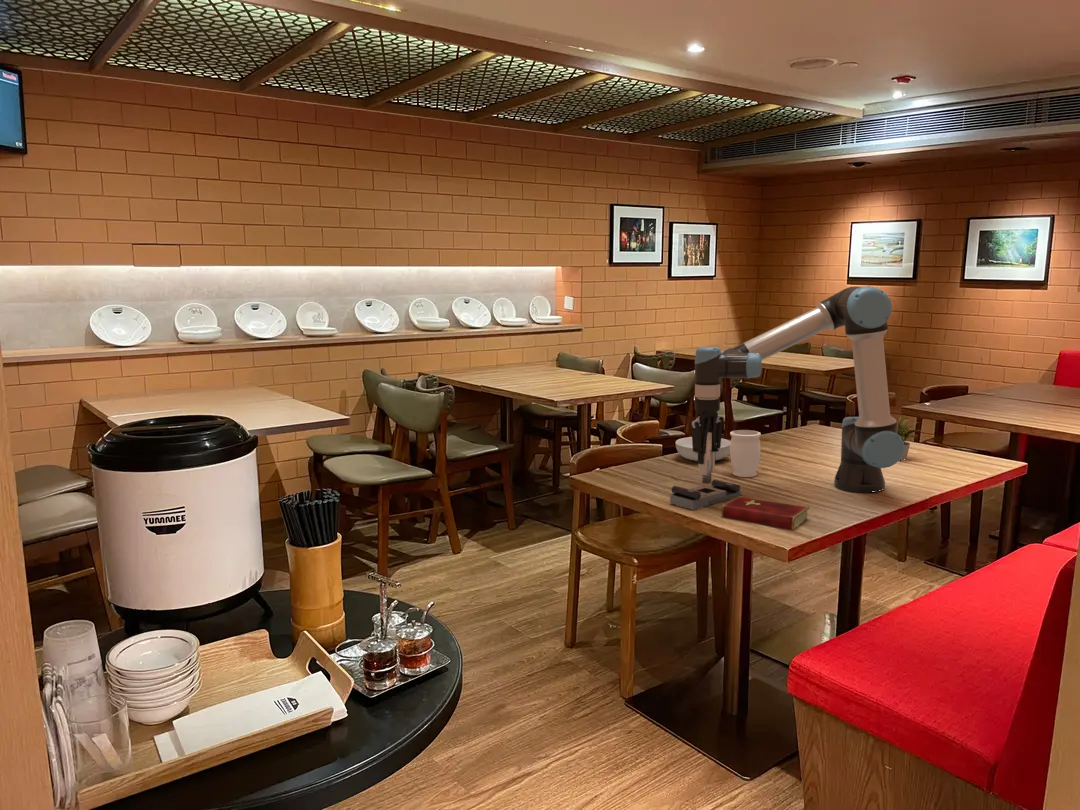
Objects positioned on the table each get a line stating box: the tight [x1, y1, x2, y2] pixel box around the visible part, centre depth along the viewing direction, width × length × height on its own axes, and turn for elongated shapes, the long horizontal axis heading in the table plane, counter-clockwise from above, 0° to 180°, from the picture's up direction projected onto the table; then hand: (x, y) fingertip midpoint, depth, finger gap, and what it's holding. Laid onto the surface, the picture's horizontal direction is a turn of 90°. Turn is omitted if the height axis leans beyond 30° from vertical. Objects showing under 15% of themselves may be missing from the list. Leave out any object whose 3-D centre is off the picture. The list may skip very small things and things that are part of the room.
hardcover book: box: [721, 495, 810, 531], centre depth 218 cm, size 12×21×4 cm, turn 52°
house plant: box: [897, 415, 924, 460], centre depth 281 cm, size 14×14×16 cm
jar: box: [729, 429, 762, 478], centre depth 265 cm, size 11×10×15 cm
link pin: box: [700, 431, 712, 485], centre depth 235 cm, size 3×3×16 cm
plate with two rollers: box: [669, 479, 742, 511], centre depth 237 cm, size 9×23×5 cm, turn 128°
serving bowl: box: [675, 436, 731, 462], centre depth 290 cm, size 21×21×7 cm
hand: (706, 472), depth 236 cm, fingers closed on link pin, 3 cm apart
